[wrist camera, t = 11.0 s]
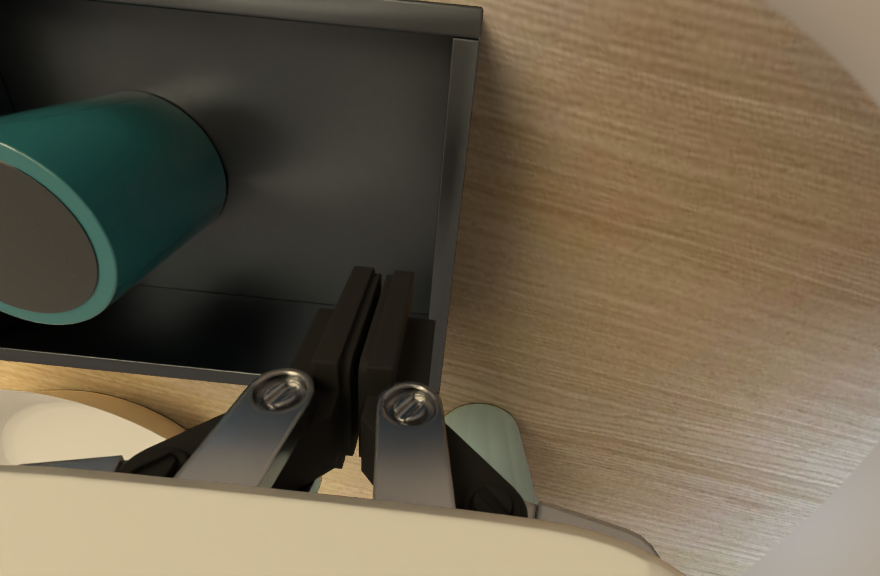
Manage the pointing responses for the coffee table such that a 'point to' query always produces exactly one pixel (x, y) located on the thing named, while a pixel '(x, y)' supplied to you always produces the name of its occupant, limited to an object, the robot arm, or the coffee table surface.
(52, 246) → the pot
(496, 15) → the coffee table surface
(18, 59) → the dark grey shallow box
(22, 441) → the white plate
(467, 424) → the cup
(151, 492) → the robot arm
